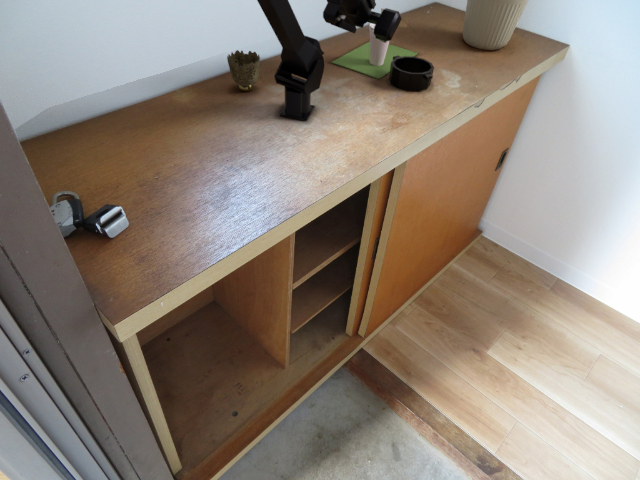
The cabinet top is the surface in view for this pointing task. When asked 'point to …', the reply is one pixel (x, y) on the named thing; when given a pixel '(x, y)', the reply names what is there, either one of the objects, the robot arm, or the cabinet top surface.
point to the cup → (244, 69)
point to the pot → (410, 73)
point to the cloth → (361, 60)
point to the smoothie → (377, 47)
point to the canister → (491, 22)
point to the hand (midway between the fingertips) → (370, 36)
